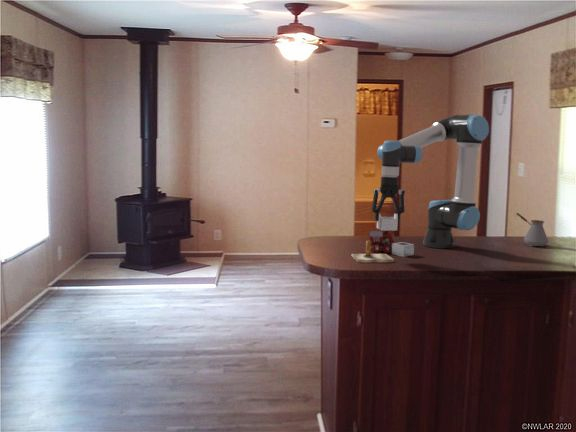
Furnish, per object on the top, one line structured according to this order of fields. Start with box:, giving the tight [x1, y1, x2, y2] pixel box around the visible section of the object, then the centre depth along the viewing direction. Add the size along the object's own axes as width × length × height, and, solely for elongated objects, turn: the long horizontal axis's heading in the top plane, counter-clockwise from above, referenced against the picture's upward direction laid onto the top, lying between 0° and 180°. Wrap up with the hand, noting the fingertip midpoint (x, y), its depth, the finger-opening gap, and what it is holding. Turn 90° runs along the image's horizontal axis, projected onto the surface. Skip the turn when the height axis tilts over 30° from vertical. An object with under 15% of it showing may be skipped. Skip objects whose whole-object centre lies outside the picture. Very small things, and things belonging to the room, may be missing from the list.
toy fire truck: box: [367, 229, 395, 254], centre depth 279 cm, size 7×12×10 cm, turn 96°
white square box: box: [379, 216, 399, 231], centre depth 261 cm, size 7×7×5 cm
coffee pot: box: [515, 212, 549, 247], centre depth 308 cm, size 21×12×15 cm, turn 21°
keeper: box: [350, 240, 395, 263], centre depth 262 cm, size 16×12×8 cm
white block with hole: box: [391, 241, 415, 258], centre depth 274 cm, size 7×7×5 cm
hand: (386, 228), depth 261 cm, fingers closed on white square box, 7 cm apart
